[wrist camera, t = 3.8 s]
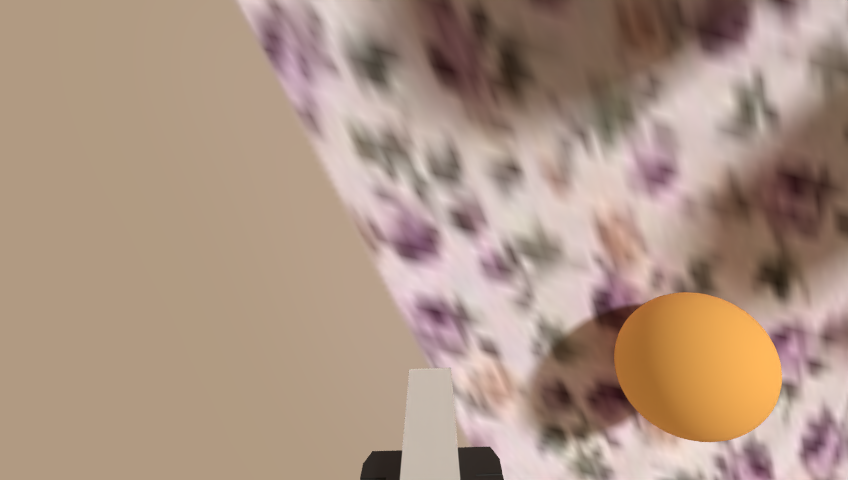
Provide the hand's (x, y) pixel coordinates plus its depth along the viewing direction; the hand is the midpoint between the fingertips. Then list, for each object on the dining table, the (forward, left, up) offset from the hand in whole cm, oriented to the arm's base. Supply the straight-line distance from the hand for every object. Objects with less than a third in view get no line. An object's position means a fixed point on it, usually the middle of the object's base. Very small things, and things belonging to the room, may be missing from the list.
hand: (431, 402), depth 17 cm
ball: (0, +10, -1) cm, 10 cm away
